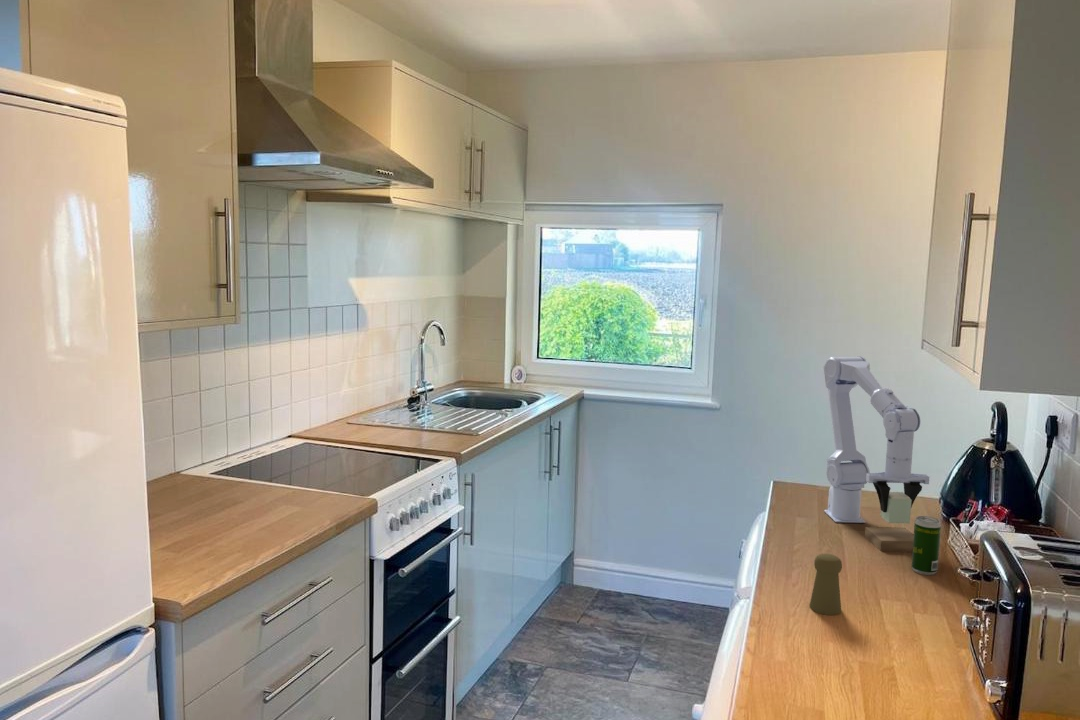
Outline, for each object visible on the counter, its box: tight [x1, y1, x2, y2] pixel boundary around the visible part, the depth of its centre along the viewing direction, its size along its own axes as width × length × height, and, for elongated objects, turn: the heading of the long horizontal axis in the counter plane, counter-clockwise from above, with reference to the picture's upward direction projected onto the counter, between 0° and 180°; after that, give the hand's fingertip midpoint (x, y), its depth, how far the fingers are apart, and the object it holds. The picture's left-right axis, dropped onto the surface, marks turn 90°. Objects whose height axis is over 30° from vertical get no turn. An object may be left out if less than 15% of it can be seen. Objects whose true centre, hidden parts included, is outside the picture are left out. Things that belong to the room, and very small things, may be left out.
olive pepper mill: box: [809, 553, 843, 616], centre depth 156 cm, size 6×6×11 cm
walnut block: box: [864, 526, 914, 553], centre depth 194 cm, size 10×10×3 cm
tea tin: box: [880, 491, 912, 524], centre depth 192 cm, size 5×5×6 cm
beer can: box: [910, 515, 942, 576], centre depth 176 cm, size 5×5×12 cm
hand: (895, 511), depth 193 cm, fingers closed on tea tin, 5 cm apart
